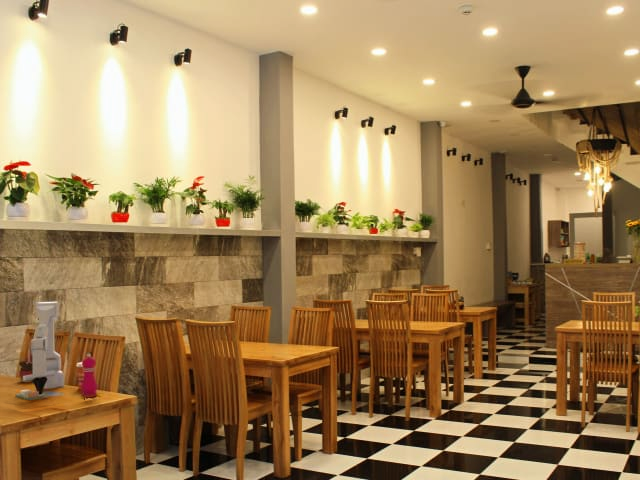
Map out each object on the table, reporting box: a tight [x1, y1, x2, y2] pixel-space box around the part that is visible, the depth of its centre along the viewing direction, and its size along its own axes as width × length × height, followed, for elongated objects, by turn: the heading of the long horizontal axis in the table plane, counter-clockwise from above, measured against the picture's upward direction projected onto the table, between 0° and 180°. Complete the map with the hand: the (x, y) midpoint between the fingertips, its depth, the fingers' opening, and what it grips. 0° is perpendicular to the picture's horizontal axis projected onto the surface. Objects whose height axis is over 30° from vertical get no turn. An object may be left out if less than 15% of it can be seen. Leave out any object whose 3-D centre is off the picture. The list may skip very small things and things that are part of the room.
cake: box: [18, 346, 33, 383], centre depth 369 cm, size 11×9×18 cm
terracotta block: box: [28, 390, 39, 397], centre depth 314 cm, size 4×4×3 cm
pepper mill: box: [80, 353, 99, 400], centre depth 319 cm, size 7×7×20 cm
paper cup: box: [76, 361, 84, 391], centre depth 334 cm, size 8×8×14 cm
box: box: [15, 393, 46, 401], centre depth 316 cm, size 7×14×2 cm, turn 47°
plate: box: [39, 390, 64, 398], centre depth 322 cm, size 10×14×2 cm
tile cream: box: [19, 389, 32, 397], centre depth 317 cm, size 4×4×3 cm
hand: (39, 394), depth 316 cm, fingers closed
